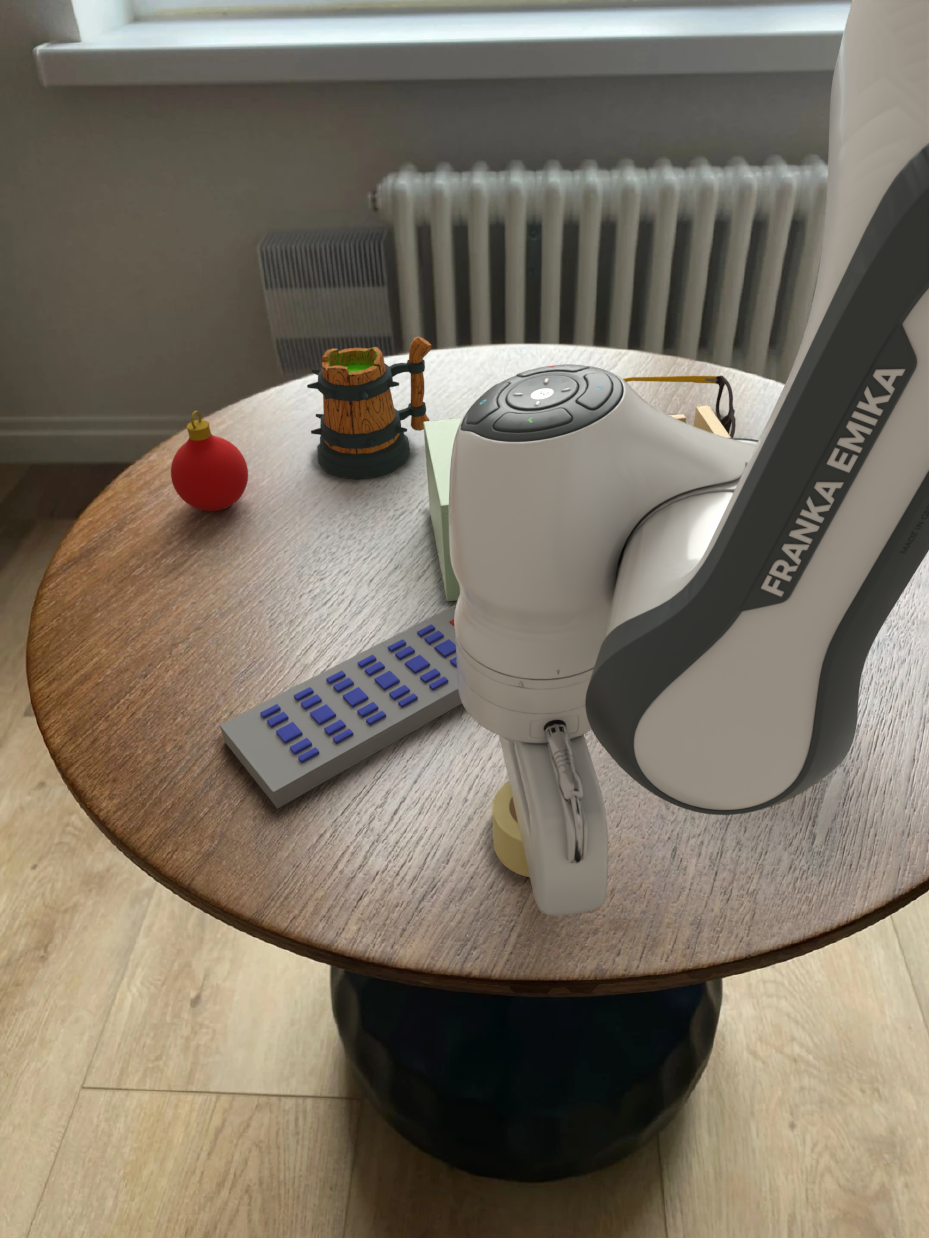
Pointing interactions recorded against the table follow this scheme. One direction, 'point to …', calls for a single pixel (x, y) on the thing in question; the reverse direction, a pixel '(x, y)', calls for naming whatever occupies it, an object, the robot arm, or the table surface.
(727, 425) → the eyeglasses
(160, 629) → the table surface
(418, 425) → the mug
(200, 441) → the christmas ornament
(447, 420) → the cabinet
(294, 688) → the remote control
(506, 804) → the tape
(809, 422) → the robot arm
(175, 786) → the table surface
